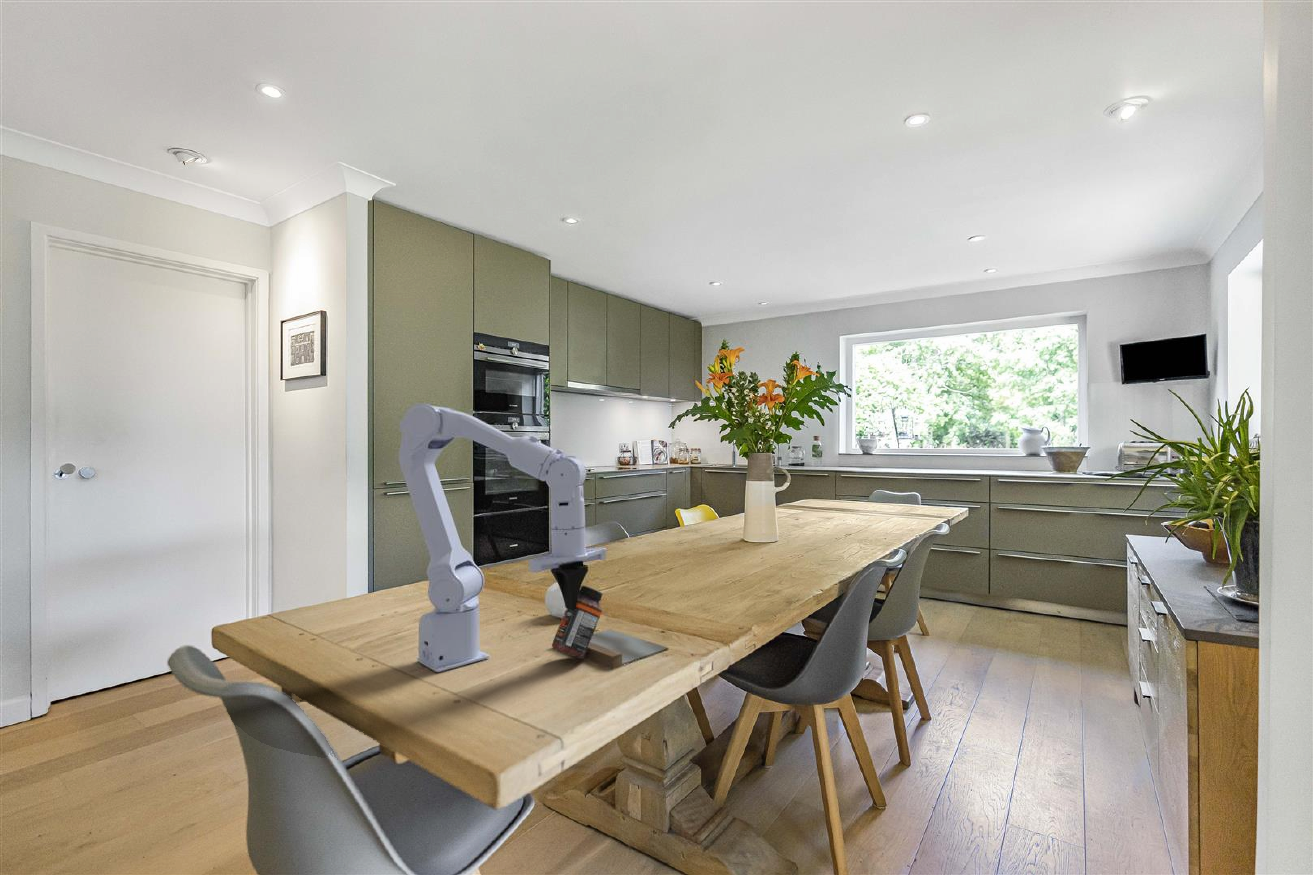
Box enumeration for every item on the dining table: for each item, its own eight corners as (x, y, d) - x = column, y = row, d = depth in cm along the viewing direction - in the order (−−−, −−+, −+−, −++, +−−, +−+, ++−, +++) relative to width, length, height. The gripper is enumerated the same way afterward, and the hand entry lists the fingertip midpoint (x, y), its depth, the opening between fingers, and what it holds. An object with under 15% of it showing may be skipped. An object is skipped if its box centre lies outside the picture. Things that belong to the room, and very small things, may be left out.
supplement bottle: (545, 645, 102) (571, 582, 106) (576, 657, 104) (600, 594, 108) (556, 650, 97) (583, 583, 101) (588, 662, 99) (613, 596, 103)
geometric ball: (566, 632, 126) (561, 608, 121) (540, 613, 130) (534, 589, 125) (590, 608, 131) (586, 584, 126) (564, 591, 135) (560, 567, 130)
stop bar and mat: (612, 668, 97) (612, 656, 97) (555, 646, 109) (555, 635, 109) (668, 649, 106) (668, 638, 106) (610, 630, 118) (610, 620, 118)
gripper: (545, 534, 93) (548, 621, 93) (616, 524, 103) (618, 602, 103) (521, 531, 98) (523, 614, 98) (590, 521, 108) (593, 596, 108)
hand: (570, 608), depth 101 cm, fingers closed, pressing on supplement bottle
